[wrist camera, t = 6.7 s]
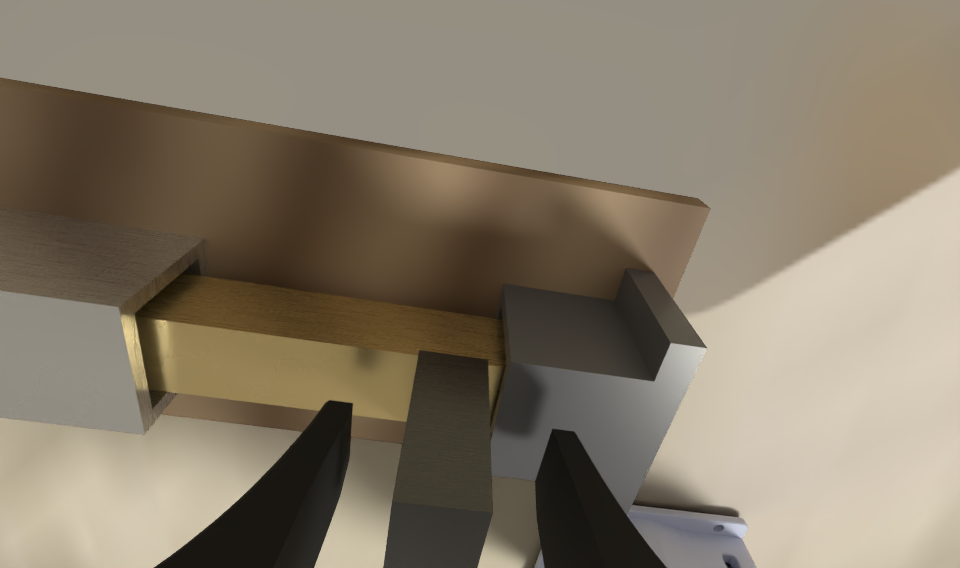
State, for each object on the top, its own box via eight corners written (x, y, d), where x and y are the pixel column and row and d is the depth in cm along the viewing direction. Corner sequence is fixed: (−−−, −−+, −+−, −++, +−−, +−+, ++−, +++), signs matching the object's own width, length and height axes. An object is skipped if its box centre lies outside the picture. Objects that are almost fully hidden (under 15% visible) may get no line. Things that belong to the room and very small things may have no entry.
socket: (654, 272, 17) (707, 348, 13) (596, 422, 20) (625, 519, 16) (511, 249, 16) (521, 320, 12) (475, 407, 20) (475, 502, 16)
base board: (698, 198, 17) (710, 208, 16) (597, 450, 22) (602, 468, 21) (-160, 50, 14) (-203, 51, 13) (-31, 371, 20) (-55, 387, 19)
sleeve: (205, 238, 16) (119, 306, 12) (215, 346, 18) (144, 434, 14) (-92, 193, 15) (-284, 251, 12) (-46, 311, 17) (-195, 394, 14)
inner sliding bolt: (593, 327, 17) (669, 532, 10) (570, 394, 18) (624, 613, 11) (95, 254, 15) (-199, 434, 9) (112, 333, 17) (-130, 540, 10)
